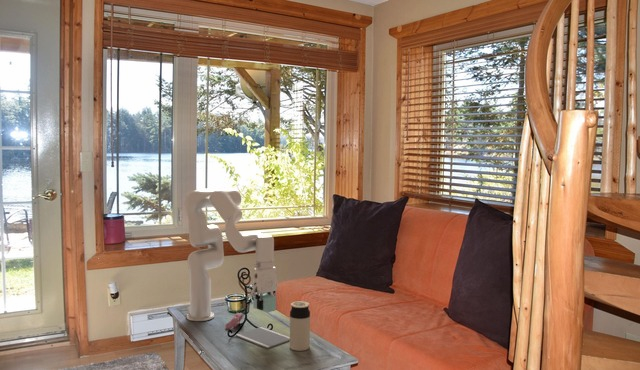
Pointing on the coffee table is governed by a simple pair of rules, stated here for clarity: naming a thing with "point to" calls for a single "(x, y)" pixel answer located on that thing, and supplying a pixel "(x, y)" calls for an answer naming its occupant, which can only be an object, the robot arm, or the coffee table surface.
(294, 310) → the travel mug
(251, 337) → the mat
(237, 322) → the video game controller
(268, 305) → the card deck block
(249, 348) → the coffee table surface
